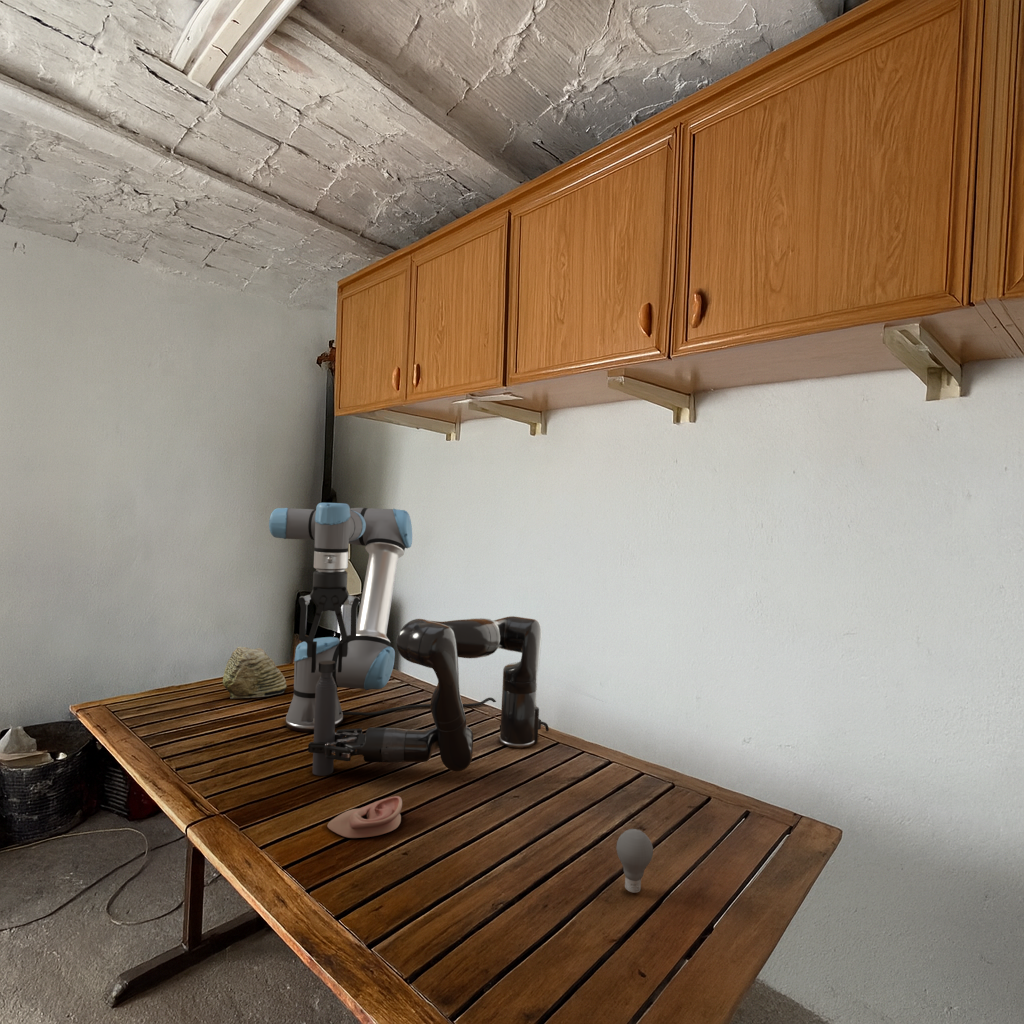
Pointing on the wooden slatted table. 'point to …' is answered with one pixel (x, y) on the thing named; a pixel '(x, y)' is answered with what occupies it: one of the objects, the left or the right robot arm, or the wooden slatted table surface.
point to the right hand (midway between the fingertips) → (312, 742)
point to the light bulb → (634, 857)
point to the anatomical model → (369, 819)
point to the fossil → (252, 674)
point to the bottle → (324, 722)
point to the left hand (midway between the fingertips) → (326, 670)
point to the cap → (326, 666)
